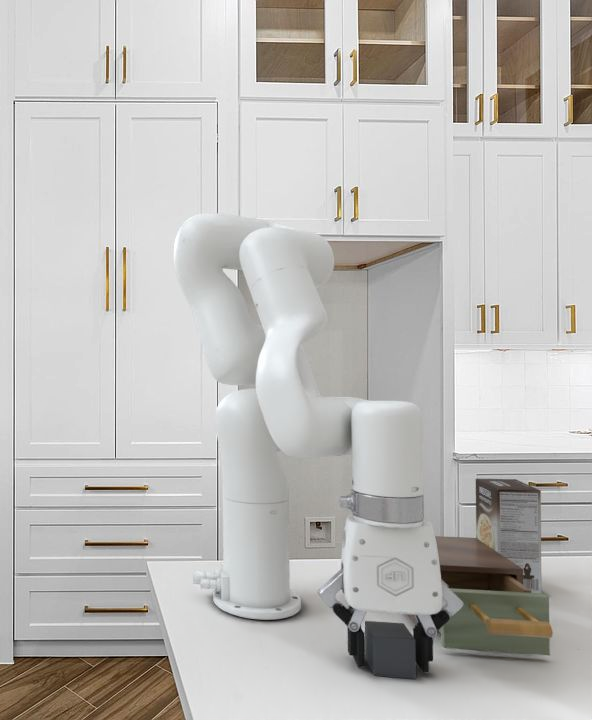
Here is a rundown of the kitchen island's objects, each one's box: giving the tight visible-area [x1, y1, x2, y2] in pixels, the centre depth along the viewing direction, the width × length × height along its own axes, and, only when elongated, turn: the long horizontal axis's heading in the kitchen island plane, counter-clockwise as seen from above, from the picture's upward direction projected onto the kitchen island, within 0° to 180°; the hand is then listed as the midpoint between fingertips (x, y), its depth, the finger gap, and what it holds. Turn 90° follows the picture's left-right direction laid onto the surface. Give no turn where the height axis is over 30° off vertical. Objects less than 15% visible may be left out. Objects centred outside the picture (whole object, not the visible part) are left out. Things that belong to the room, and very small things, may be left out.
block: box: [364, 620, 417, 680], centre depth 69 cm, size 4×4×4 cm
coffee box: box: [475, 478, 543, 593], centre depth 96 cm, size 9×6×16 cm
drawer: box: [437, 571, 554, 656], centre depth 75 cm, size 20×11×7 cm, turn 170°
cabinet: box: [407, 535, 523, 626], centre depth 86 cm, size 15×13×9 cm
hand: (389, 662), depth 69 cm, fingers open, 6 cm apart
